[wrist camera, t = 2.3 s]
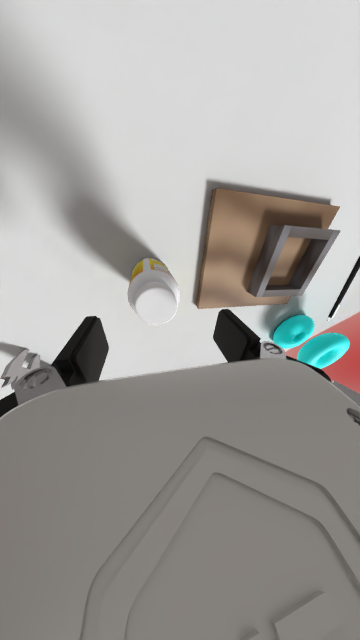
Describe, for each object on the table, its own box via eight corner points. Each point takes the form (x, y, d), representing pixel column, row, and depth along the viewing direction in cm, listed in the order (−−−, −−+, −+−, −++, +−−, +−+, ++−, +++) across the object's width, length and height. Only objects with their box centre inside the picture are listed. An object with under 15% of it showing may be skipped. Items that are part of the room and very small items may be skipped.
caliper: (22, 349, 23) (-13, 383, 18) (27, 346, 23) (-6, 380, 18) (108, 394, 35) (102, 422, 30) (112, 392, 35) (106, 420, 30)
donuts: (313, 352, 25) (364, 332, 25) (272, 322, 33) (310, 306, 33) (301, 378, 31) (342, 362, 31) (268, 347, 39) (301, 334, 39)
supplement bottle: (137, 295, 22) (133, 336, 14) (127, 259, 19) (115, 283, 10) (171, 290, 23) (186, 326, 14) (167, 254, 19) (184, 273, 11)
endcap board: (212, 190, 17) (227, 181, 14) (330, 207, 21) (362, 204, 18) (196, 305, 25) (203, 316, 22) (281, 301, 30) (297, 309, 27)
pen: (324, 320, 38) (329, 322, 37) (362, 247, 27) (369, 247, 26) (327, 319, 38) (332, 321, 37) (366, 245, 27) (374, 246, 26)
